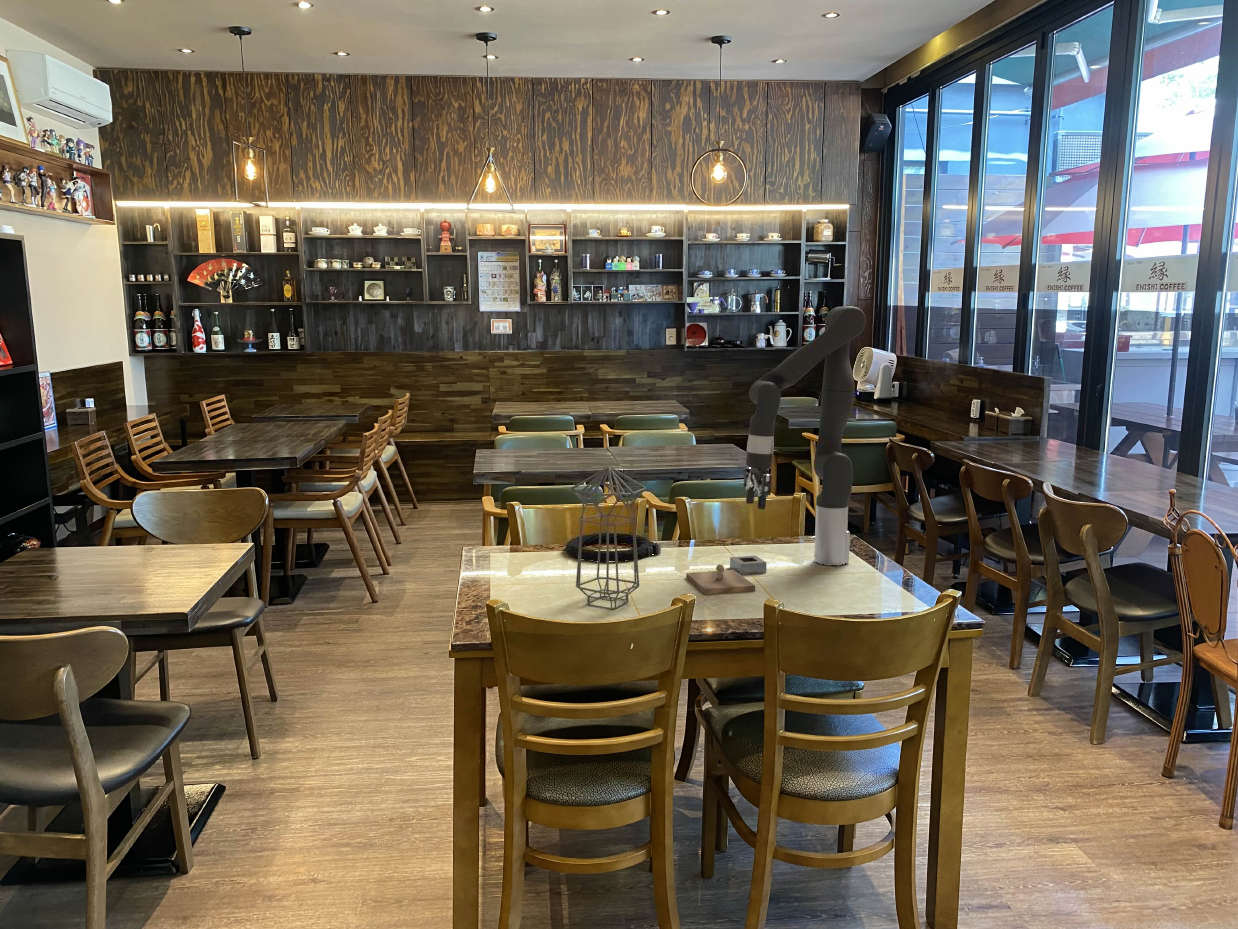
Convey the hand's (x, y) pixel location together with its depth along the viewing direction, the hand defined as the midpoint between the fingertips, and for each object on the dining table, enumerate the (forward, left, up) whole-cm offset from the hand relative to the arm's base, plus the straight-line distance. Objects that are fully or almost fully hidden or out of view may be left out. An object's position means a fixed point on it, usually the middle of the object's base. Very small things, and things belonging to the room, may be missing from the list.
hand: (755, 506), depth 257 cm
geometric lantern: (+49, +23, -18) cm, 57 cm away
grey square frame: (+3, +3, -18) cm, 18 cm away
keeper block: (+16, +15, -18) cm, 28 cm away
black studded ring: (+36, -27, -19) cm, 49 cm away
